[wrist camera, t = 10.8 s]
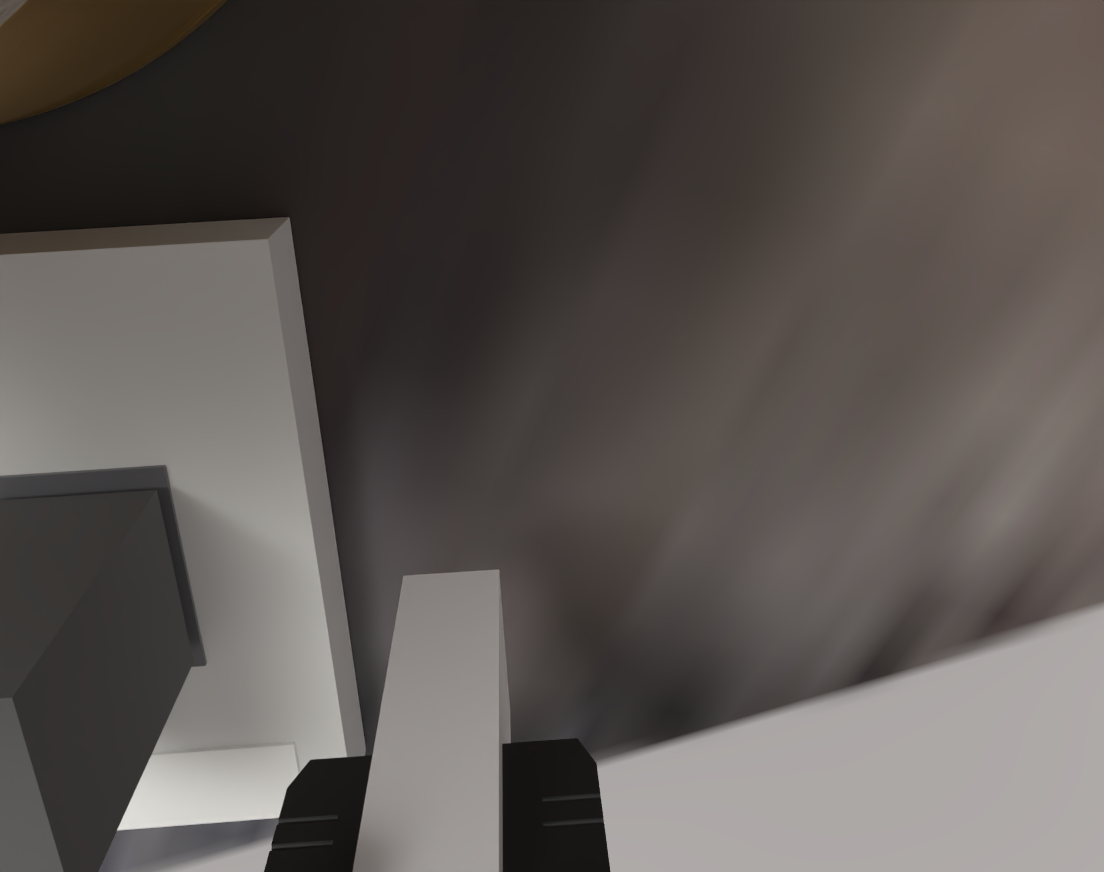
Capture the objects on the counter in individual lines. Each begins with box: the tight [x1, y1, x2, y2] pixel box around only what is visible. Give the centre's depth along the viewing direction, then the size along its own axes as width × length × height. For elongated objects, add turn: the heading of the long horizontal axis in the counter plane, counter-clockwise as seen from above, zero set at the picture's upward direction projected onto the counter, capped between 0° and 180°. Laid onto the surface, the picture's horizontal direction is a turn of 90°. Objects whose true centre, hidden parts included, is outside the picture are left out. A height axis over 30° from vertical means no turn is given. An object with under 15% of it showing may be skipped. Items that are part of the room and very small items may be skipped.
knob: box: [0, 490, 193, 872], centre depth 16 cm, size 3×4×6 cm
